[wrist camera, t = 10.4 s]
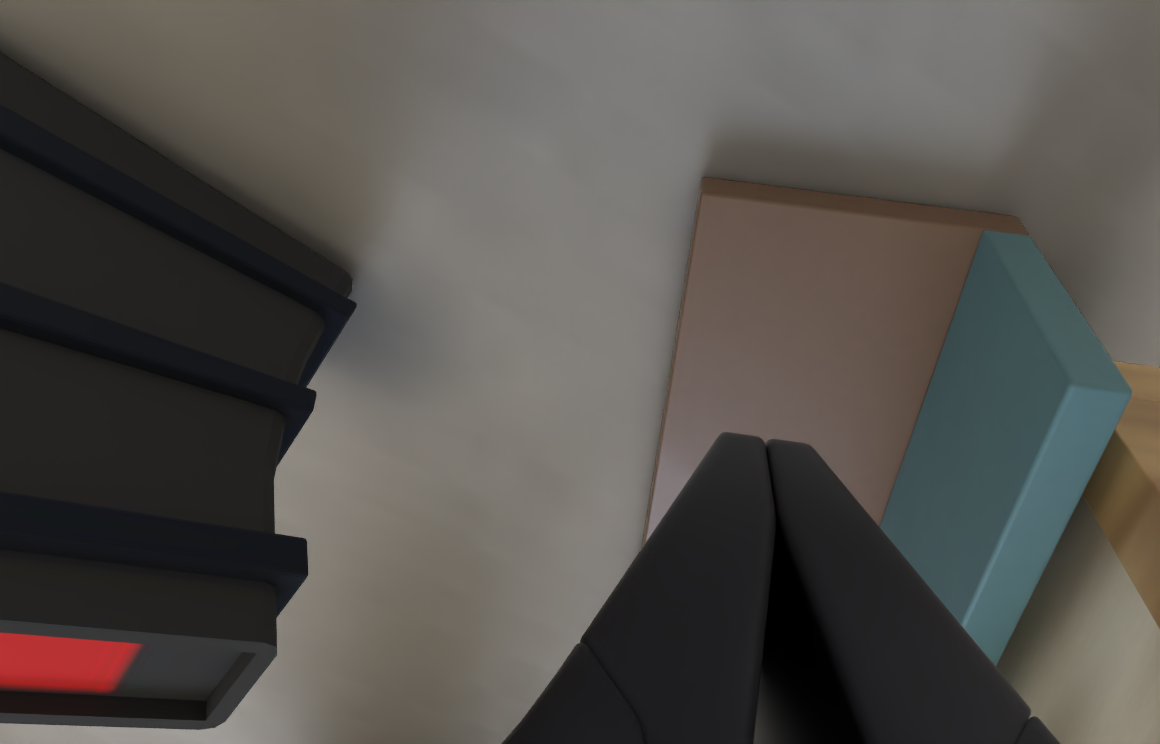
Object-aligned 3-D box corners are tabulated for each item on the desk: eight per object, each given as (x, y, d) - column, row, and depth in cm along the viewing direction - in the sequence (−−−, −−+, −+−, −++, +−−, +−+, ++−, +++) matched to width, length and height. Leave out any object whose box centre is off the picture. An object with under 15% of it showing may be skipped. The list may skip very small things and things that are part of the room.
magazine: (-253, -77, 19) (-825, 529, 9) (350, 164, 26) (409, 645, 16) (-270, 73, 21) (-752, 711, 11) (297, 259, 28) (321, 741, 18)
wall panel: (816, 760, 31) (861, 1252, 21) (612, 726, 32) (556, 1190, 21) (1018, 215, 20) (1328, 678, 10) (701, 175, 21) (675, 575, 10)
